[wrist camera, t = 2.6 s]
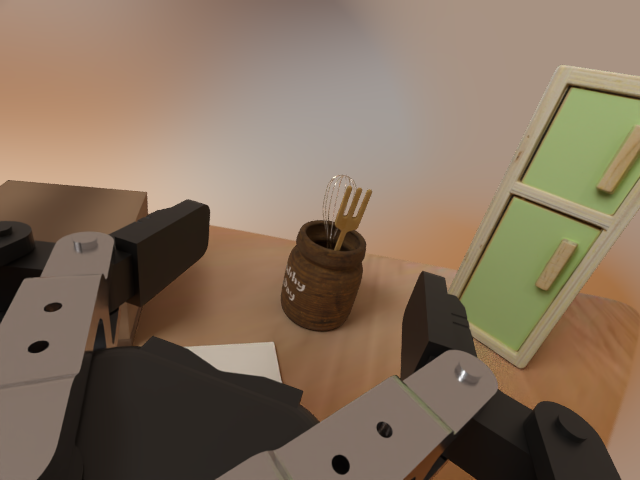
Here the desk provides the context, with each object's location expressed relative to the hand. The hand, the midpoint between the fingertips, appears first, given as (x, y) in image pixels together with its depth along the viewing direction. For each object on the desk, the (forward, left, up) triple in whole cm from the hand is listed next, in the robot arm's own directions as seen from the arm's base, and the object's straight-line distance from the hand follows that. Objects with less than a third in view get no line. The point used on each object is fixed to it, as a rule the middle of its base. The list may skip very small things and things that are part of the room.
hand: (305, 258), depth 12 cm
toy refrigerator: (+21, +7, -12) cm, 26 cm away
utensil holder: (+5, +10, -12) cm, 16 cm away
